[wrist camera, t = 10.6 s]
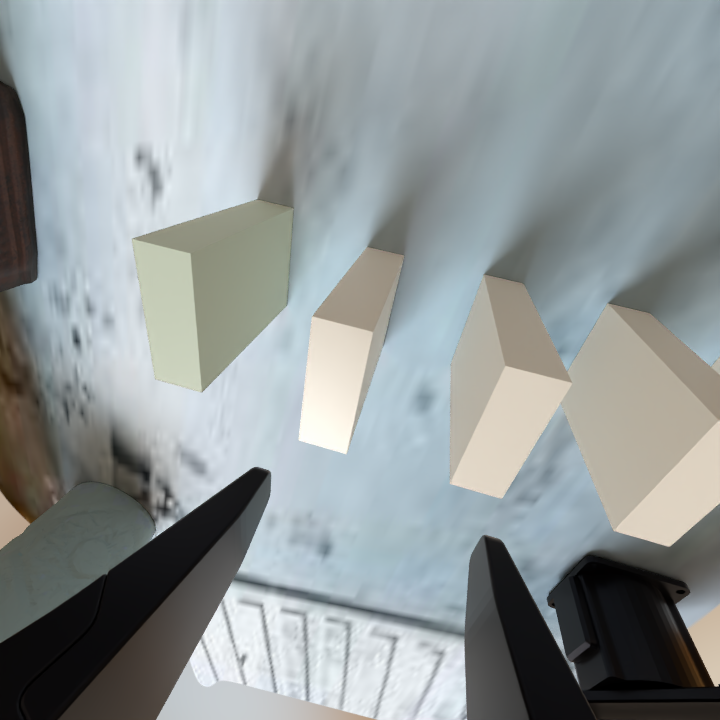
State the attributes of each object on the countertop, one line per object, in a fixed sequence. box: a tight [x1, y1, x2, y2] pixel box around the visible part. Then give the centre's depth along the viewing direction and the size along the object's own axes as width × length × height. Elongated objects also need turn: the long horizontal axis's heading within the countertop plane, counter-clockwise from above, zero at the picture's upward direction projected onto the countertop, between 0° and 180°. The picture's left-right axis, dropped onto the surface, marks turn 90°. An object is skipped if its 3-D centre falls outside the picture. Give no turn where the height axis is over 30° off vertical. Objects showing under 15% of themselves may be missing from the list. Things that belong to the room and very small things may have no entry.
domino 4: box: [561, 303, 720, 547], centre depth 14 cm, size 2×5×8 cm, turn 170°
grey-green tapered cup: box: [0, 482, 156, 643], centre depth 30 cm, size 10×10×12 cm
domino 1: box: [132, 200, 294, 392], centre depth 15 cm, size 2×5×8 cm, turn 170°
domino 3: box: [450, 274, 572, 499], centre depth 15 cm, size 2×5×8 cm, turn 170°
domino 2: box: [299, 247, 404, 454], centre depth 15 cm, size 2×5×8 cm, turn 170°
